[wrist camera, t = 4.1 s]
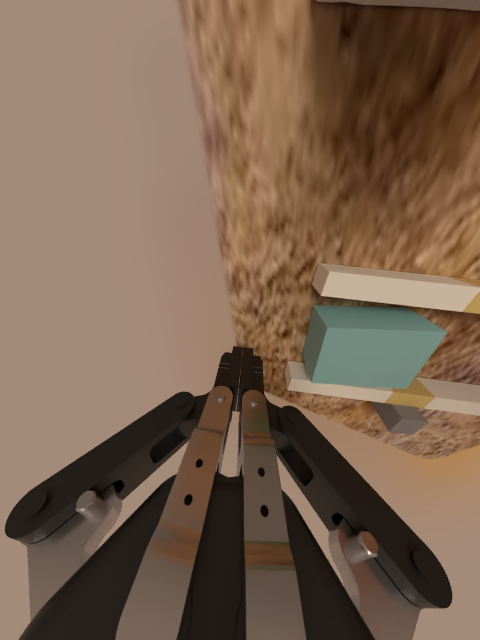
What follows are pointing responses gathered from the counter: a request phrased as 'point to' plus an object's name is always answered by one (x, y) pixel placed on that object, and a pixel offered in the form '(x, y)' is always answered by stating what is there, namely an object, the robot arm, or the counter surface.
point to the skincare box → (419, 3)
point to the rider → (368, 345)
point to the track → (399, 290)
